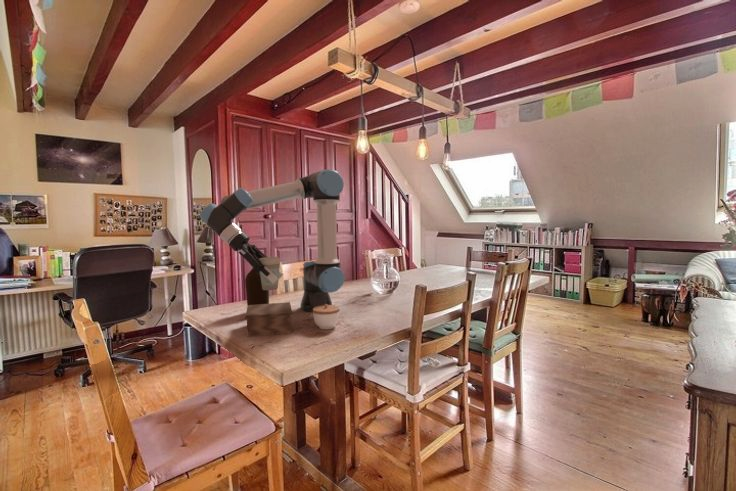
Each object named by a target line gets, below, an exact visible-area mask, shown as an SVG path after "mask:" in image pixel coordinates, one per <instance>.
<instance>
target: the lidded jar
mask: <svg viewBox="0 0 736 491" xmlns="http://www.w3.org/2000/svg"><path fill="white" fill-rule="evenodd" d="M340 308H341V307H339V306H338V305H335V304H334V305H333V304H332V305H327V304H325V305H321V306H316V307H314V308H313V311H312V316H313V317H312V318H313V322H314V323H315V325H316V326H317V327H318V329H320V330H332V329H334V328H335V326H336V325H337V324H338V323H339V319H340Z"/></svg>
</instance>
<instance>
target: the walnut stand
mask: <svg viewBox="0 0 736 491" xmlns="http://www.w3.org/2000/svg"><path fill="white" fill-rule="evenodd" d="M244 316H245V317H244V318H245V319H246V326H247V327H246V328H247V329H246V332H247V337H248V338H249V337H259V336H269V335H270V336H271V335H279V334H280V335H281V334H289V333H292V316H293V310H292V306H291V302H290V301H289V302H288V301H287V302H277V303H276V302H275V303H269V304H258V305H248V307H247V309H246V313H245V315H244Z"/></svg>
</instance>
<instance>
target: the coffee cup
mask: <svg viewBox="0 0 736 491" xmlns="http://www.w3.org/2000/svg"><path fill="white" fill-rule="evenodd" d="M259 260H260V262H261V263H262V264H263V265H264V267H265V266H266V267H267V268H268V269H269V270H270V271H271V272H272V273H273V274H274V275H275V276H276V277H278V279H277V280H276V281H275V282H274V283H272V282H271V281H270V280H268V279H267V278H266V277H265V276H264V275H263V274H262V273H261V272H260V277H261V284H262V289H263V290H269V291H275V290H278V288H279V280H280V279H279V270H280V267H281V265H280V264H281V260H280V257H277V256H275V257H274V256H267V257H265V258H259Z"/></svg>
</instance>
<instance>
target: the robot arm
mask: <svg viewBox="0 0 736 491" xmlns="http://www.w3.org/2000/svg"><path fill="white" fill-rule="evenodd" d="M344 186H345V183H344V179H343V177H342V175H341V174H340V173H339V172H338V171H337V170H334V169H322V170H320V171H316V172H313V173H311V174H308V175H305V176H302V177H301V178H300V177H299V178H296V179H295V180H294V181H292V182H291V181H290V182H287V183H282V184H278V185H277V184H276V185H273V186H272V185H271V186H269V187H268V186H267V187H263V188H258V189H254V190H249V191H247V190H246V189H245V188H242V187H240V188H237V189H236V190H234V192H232V193H231V194H228V195H225V196H224V197H222V199H220V200H221V201H220V203H219V204H218V205H217V204H215V203H210V204H208V205H207V206H205V207H204V208H202V210H201V211H200V213H199V217H200V219H201V221H203V223H204V224H206V226H207V227H208V228H210V229H211V230H212V231H213V232H214V233H215V234H216V235H217V236H218V237H219V238H220V239H221V242H225V243H226V245H227V244H228V246H229V247H230V248H231V249H232V250H233V251H234V252H238V254H239V255H240V256H242V257H243V259H245V260H246V262H247V263H248V264H249V265H250V266H251V267H252V268H254V269H255V270H256V272H257V273H259V272H261V273H262V274H263V275H264V276H265V277H266V278H267V279H268V280H270V281H271V282H272V283H274V282H275V281H276V280H277V279H278V277H276V276H275V275H274V274H273V273H272V272H271V271H270V270H269V269H268V268H267V267H266V266H265V267H264V265H263V264H262V263H261V262H260V260H259V258H265V257H268V256H267V255H266V254H265V253H263V252H262V251H261V250H260V249H259V248H258V247H257V246H256V245H255V244H250V243H249V241H250V239H251V238H250V236H248V235H247V234H246V232H244V231H243V230H242V229H241V228H240V227H239V226H238V225H237V224H236V223H235V222H234V221H233V220H235V218H236V217H238V216H239V215H240V214H241V213H243V211H244V212H245V211H248V210H252V209H256V208H260V207H265V206H269V205H273V204H278V203H282V202H287V201H291V200H295V199H300V200H304V199H305V200H306V199H310V198H311V199H313V202H314V203H315V204H316V221H317V222H316V229H317V232H316V233H317V235H316V237H317V241H316V242H317V258H316V260H312V261H304V263H303V268H302V270H303V293H302V294H303V295H302V298H301V300H300V301H301V302H300V309H301V310H302V311H306V312H313V308H314V307H316V306H321V305H325V304H327V305H333V302H332V299H331V296H330V293H331V294H332V293H336V292H338V291H339V290H340V289H341V288H342V287H343V285H344V282H345V274H344V271H343V270H342V269H341V261H340V259H339V258H338V256H337V255H338V253H337V251H338V250H337V248H338V246H337V241H338V240H337V239H338V238H337V232H338V231H337V204H338V203H339V202H340V200H341V199H340V197H341V196H340V195H341V193H342V192H343V189H344ZM283 276H284V272H282V271H281V269H279V280H280V279H281V278H282V277H283Z"/></svg>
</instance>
